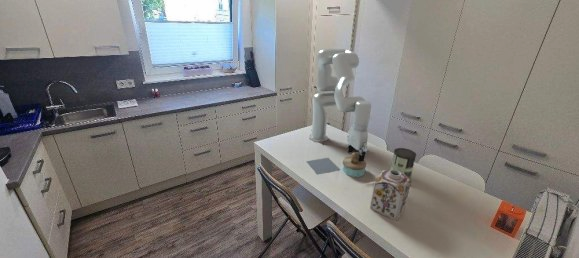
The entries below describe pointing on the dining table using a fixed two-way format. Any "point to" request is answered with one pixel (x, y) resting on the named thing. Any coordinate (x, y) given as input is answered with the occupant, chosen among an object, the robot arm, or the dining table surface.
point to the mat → (322, 166)
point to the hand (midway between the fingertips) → (355, 156)
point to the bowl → (353, 172)
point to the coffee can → (403, 161)
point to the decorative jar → (390, 193)
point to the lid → (354, 162)
